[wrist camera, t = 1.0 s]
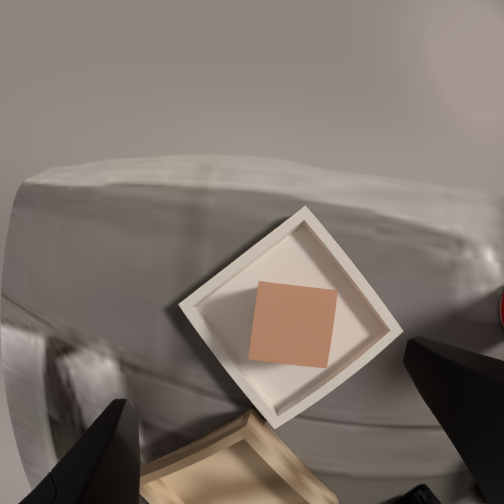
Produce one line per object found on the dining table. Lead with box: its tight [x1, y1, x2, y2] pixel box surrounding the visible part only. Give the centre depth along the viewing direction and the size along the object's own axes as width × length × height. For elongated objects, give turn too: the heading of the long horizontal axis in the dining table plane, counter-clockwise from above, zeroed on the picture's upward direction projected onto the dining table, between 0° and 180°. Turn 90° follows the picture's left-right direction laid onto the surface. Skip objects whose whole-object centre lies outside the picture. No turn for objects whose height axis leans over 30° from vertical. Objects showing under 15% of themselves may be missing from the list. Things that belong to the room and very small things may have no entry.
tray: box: [178, 206, 403, 429], centre depth 22 cm, size 13×13×2 cm
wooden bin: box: [140, 408, 339, 504], centre depth 19 cm, size 14×14×4 cm
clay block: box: [248, 281, 338, 368], centre depth 20 cm, size 5×5×5 cm
